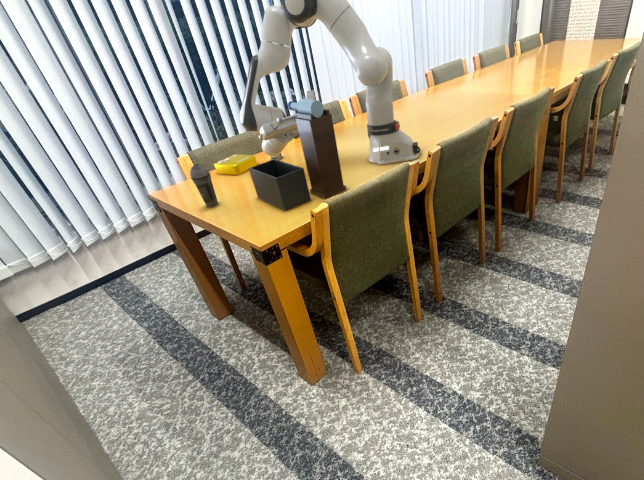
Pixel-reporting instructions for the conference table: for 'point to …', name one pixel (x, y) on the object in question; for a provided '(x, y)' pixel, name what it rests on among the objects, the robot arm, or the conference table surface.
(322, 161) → the bottle stand
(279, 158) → the energy drink
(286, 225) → the conference table surface
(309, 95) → the network device
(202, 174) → the beverage cup
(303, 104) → the bottle
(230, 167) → the element tile
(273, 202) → the waste bin
